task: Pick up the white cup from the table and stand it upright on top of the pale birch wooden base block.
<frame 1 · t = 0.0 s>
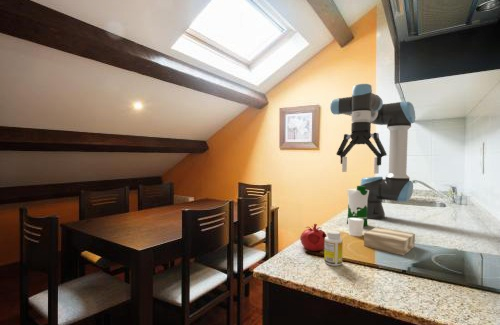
hand: (359, 172, 116), 28 cm above the worktop, tool pointing down, fingers open, 13 cm apart
white cup: (355, 234, 122), on the worktop
milk carton: (356, 225, 140), on the worktop
wooden base: (389, 246, 107), on the worktop
pomegranate: (313, 248, 103), on the worktop
supplement bottle: (333, 263, 89), on the worktop
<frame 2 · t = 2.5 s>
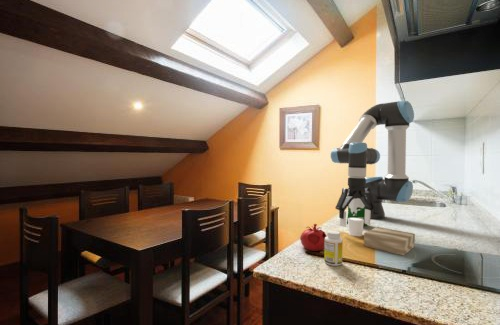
hand: (355, 225, 122), 4 cm above the worktop, tool pointing down, fingers open, 13 cm apart
nothing on the worktop moved.
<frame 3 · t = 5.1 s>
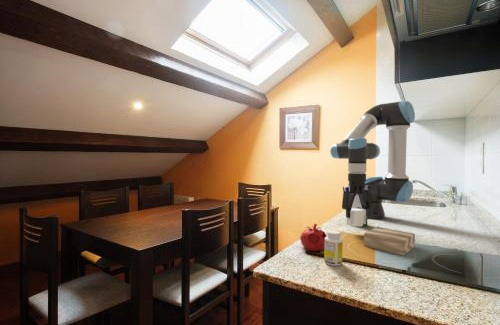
hand: (356, 224, 122), 5 cm above the worktop, tool pointing down, fingers closed on white cup, 7 cm apart
white cup: (356, 225, 123), point 4 cm above the worktop, touching gripper
everything else where it was.
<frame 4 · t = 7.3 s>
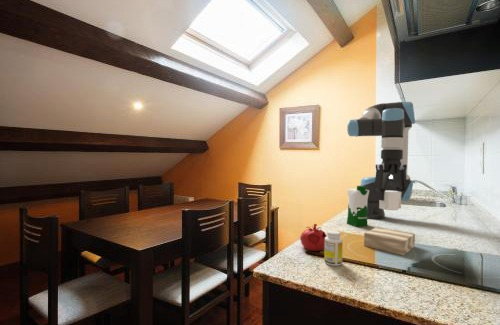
hand: (390, 208, 106), 15 cm above the worktop, tool pointing down, fingers closed on white cup, 7 cm apart
white cup: (390, 209, 107), point 14 cm above the worktop, touching gripper
everything else where it was.
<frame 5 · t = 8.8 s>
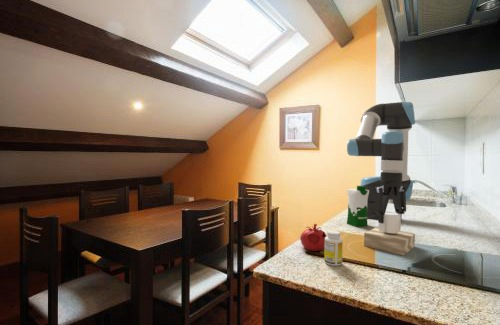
hand: (389, 230, 107), 6 cm above the worktop, tool pointing down, fingers closed on white cup, 7 cm apart
white cup: (389, 231, 107), point 6 cm above the worktop, touching gripper
everything else where it was.
when the fingers open (6 cm above the worktop, at t = 9.7 s): white cup stays where it is, resting on wooden base.
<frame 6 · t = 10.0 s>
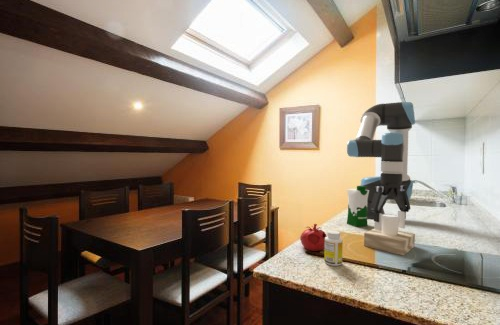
hand: (389, 228, 107), 7 cm above the worktop, tool pointing down, fingers open, 11 cm apart
white cup: (389, 233, 107), point 5 cm above the worktop, touching wooden base
everything else where it was.
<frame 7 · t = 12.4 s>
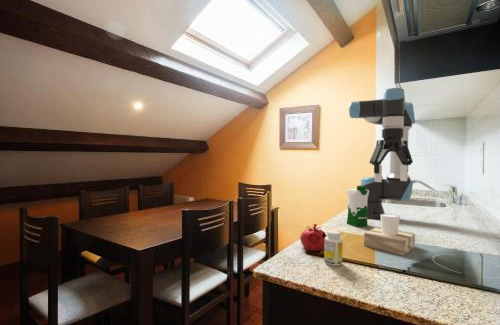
hand: (391, 181, 110), 25 cm above the worktop, tool pointing down, fingers open, 13 cm apart
nothing on the worktop moved.
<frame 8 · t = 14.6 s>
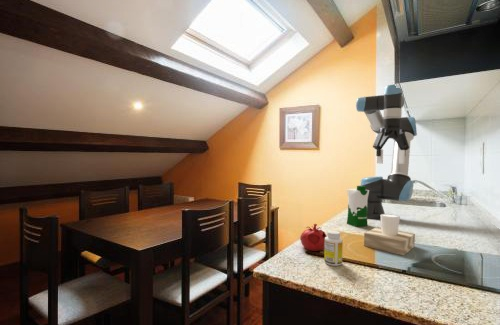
hand: (390, 163, 129), 32 cm above the worktop, tool pointing down, fingers open, 13 cm apart
nothing on the worktop moved.
at the end: white cup inside the target area on the wooden base (0.1 cm from its centre), point 4.8 cm above the wooden base's base; white cup tilted 0°; the gripper is holding nothing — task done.
